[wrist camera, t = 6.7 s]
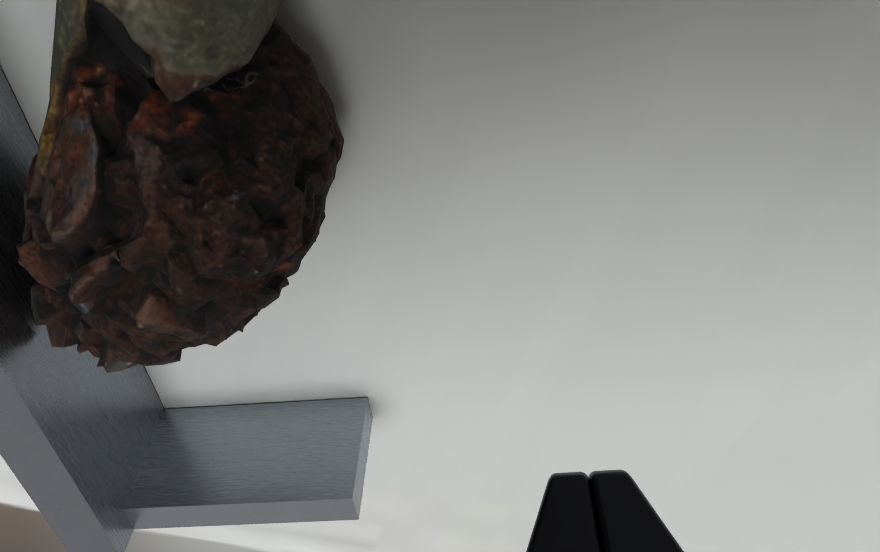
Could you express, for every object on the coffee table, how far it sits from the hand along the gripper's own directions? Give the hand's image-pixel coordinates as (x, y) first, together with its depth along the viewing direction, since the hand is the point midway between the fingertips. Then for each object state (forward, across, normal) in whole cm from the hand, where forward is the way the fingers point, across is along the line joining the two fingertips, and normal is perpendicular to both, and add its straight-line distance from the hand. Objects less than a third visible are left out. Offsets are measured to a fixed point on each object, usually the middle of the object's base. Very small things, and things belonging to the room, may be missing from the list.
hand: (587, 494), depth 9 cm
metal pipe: (+13, +7, -2) cm, 15 cm away
